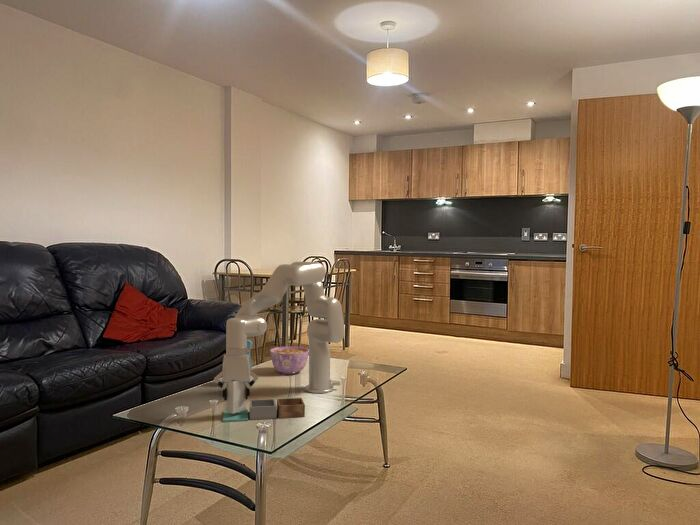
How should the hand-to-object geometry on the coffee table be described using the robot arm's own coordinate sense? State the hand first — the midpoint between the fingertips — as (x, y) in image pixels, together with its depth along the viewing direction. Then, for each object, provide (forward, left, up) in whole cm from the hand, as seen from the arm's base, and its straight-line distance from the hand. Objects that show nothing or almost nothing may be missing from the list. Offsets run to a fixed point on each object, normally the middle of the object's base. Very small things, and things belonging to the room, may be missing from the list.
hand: (236, 398), depth 194 cm
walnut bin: (-20, 0, -7) cm, 21 cm away
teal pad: (0, 0, -7) cm, 7 cm away
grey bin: (-10, 0, -7) cm, 12 cm away
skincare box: (0, 0, -5) cm, 5 cm away
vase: (-2, -47, -7) cm, 47 cm away
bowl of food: (-26, -67, -7) cm, 72 cm away
